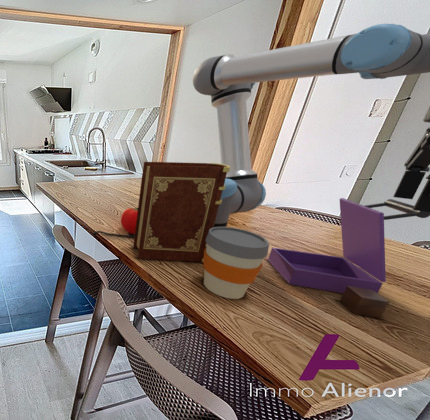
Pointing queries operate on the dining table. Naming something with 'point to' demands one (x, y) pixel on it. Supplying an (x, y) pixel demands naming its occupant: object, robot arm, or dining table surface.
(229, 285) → the reusable coffee cup
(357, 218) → the purple hinged lid
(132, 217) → the tomato
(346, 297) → the block
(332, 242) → the dining table surface
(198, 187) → the decorative book
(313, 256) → the purple box base
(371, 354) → the dining table surface
